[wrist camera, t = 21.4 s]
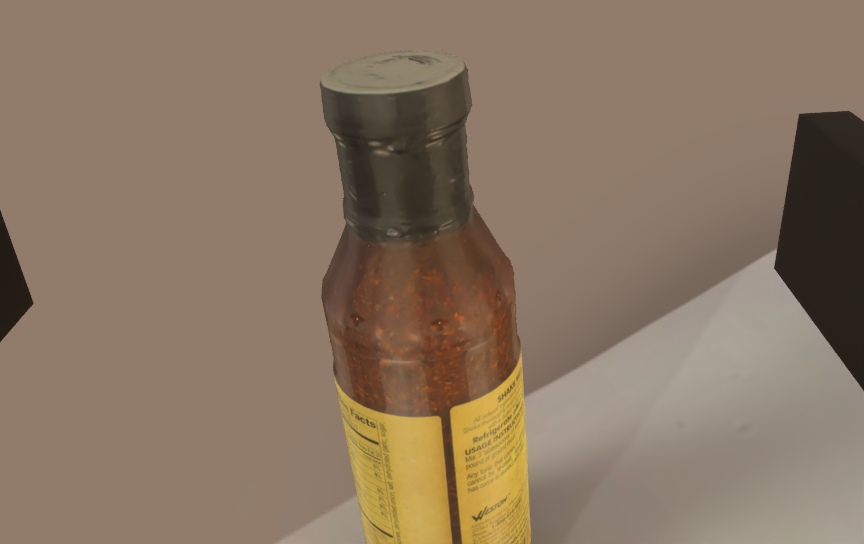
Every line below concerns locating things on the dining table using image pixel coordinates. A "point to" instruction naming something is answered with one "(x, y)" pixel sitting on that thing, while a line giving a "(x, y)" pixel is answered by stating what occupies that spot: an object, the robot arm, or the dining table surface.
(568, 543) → the dining table surface
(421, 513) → the sauce bottle
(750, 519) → the dining table surface
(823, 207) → the robot arm
